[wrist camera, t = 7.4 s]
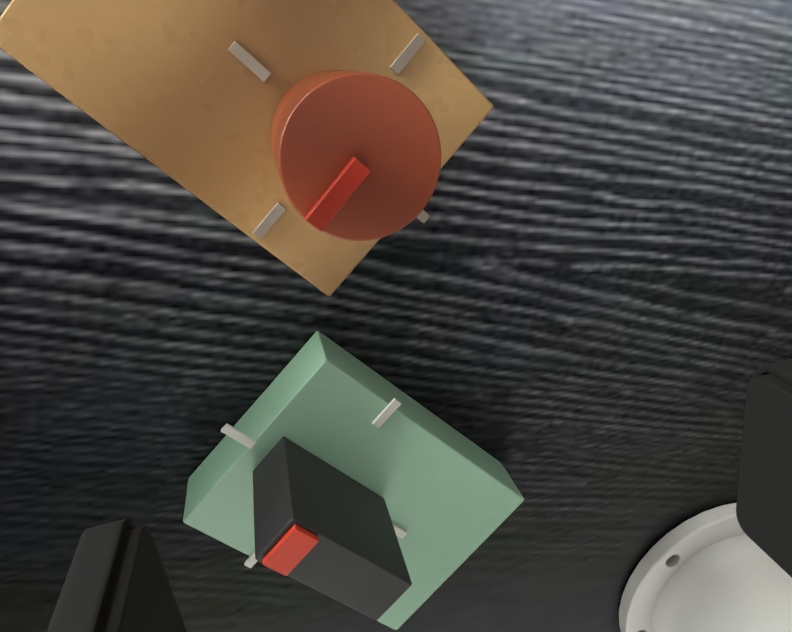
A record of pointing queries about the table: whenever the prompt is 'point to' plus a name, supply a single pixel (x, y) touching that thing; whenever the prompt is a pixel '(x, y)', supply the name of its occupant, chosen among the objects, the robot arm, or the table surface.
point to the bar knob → (326, 531)
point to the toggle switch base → (360, 466)
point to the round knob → (355, 153)
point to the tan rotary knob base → (233, 93)
